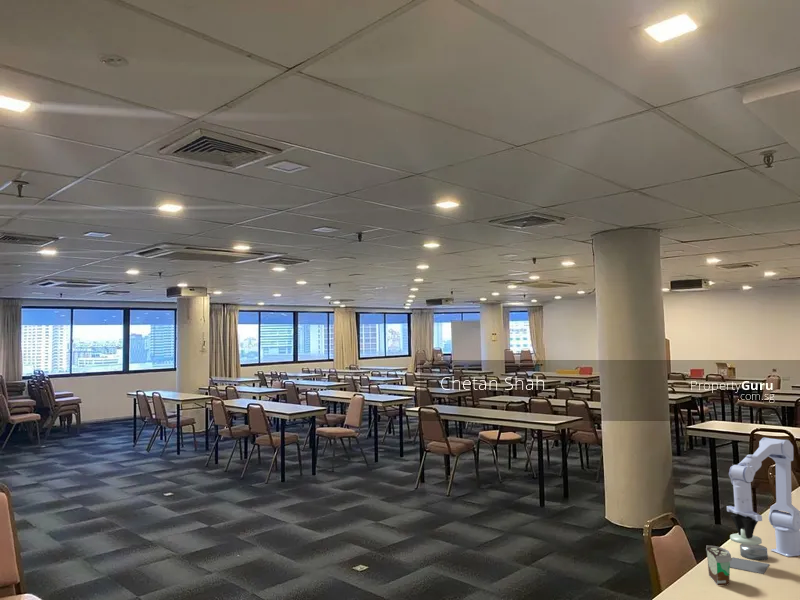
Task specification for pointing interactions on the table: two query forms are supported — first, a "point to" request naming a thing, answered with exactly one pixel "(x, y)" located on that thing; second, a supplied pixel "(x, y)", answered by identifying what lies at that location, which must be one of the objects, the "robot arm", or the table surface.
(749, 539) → the lid
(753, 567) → the mat
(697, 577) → the table surface
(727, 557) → the food container
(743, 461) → the robot arm
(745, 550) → the tin
